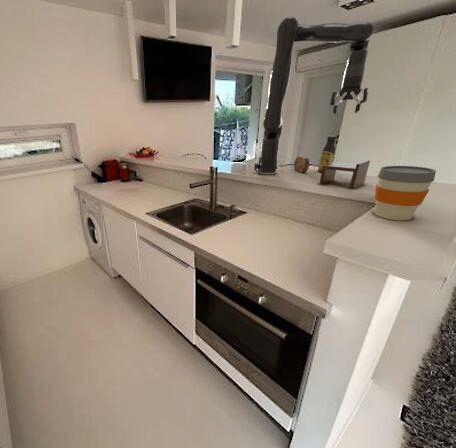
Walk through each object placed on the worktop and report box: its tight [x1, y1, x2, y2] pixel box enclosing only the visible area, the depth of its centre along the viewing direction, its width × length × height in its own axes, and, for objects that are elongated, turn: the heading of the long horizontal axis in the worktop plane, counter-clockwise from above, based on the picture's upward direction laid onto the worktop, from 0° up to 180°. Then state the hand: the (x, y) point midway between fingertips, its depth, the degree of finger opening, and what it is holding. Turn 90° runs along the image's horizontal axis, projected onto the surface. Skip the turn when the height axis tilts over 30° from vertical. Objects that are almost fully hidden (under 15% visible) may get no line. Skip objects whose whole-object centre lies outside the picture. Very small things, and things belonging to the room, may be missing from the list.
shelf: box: [318, 159, 371, 190], centre depth 115 cm, size 14×12×11 cm
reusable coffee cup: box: [374, 165, 437, 221], centre depth 77 cm, size 13×13×15 cm
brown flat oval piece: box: [293, 155, 310, 173], centre depth 147 cm, size 15×3×8 cm, turn 172°
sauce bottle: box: [317, 135, 337, 173], centre depth 140 cm, size 7×6×20 cm
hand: (345, 113), depth 122 cm, fingers open, 8 cm apart
